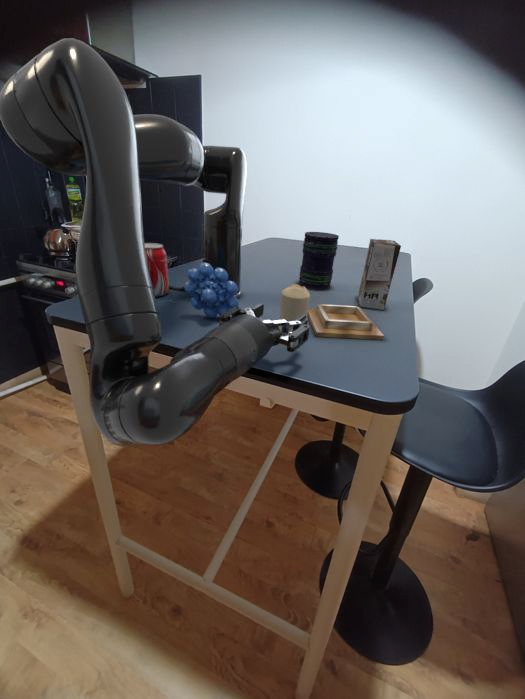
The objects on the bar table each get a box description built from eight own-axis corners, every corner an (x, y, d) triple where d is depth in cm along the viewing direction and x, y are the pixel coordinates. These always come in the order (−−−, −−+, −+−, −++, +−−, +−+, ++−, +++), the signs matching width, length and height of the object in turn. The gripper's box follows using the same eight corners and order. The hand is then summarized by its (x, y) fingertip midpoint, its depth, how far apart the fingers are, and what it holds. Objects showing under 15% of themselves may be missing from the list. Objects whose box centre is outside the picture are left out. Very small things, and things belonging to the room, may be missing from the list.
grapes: (180, 323, 66) (176, 265, 60) (188, 311, 72) (186, 258, 66) (235, 328, 66) (237, 270, 60) (239, 316, 72) (241, 262, 66)
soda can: (134, 294, 79) (128, 245, 74) (153, 287, 85) (148, 241, 79) (157, 300, 77) (152, 249, 71) (175, 292, 83) (172, 245, 77)
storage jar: (335, 285, 99) (344, 235, 92) (323, 292, 92) (331, 238, 85) (306, 279, 103) (313, 230, 96) (292, 285, 96) (298, 233, 89)
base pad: (315, 336, 65) (318, 324, 63) (305, 311, 77) (307, 300, 76) (382, 340, 65) (386, 327, 64) (362, 314, 78) (364, 303, 76)
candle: (276, 327, 67) (280, 281, 63) (301, 328, 68) (308, 282, 63) (279, 338, 62) (284, 289, 58) (307, 339, 63) (314, 291, 58)
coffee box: (384, 310, 81) (402, 245, 74) (359, 307, 82) (373, 242, 75) (380, 299, 89) (395, 240, 82) (357, 296, 90) (370, 237, 83)
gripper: (281, 337, 41) (322, 303, 53) (193, 312, 46) (249, 286, 59) (276, 385, 44) (315, 342, 57) (195, 356, 50) (248, 323, 63)
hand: (282, 314), depth 58 cm, fingers open, 8 cm apart
